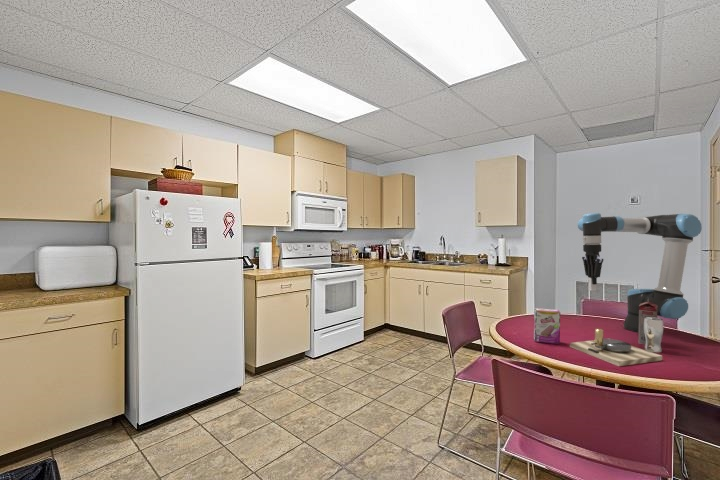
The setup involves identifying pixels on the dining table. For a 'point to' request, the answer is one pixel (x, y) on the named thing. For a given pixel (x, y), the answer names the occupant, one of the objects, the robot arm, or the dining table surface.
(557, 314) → the candy bar box
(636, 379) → the dining table surface
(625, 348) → the grey round handled piece
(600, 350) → the stand
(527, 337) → the dining table surface
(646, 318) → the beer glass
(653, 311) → the juice carton
